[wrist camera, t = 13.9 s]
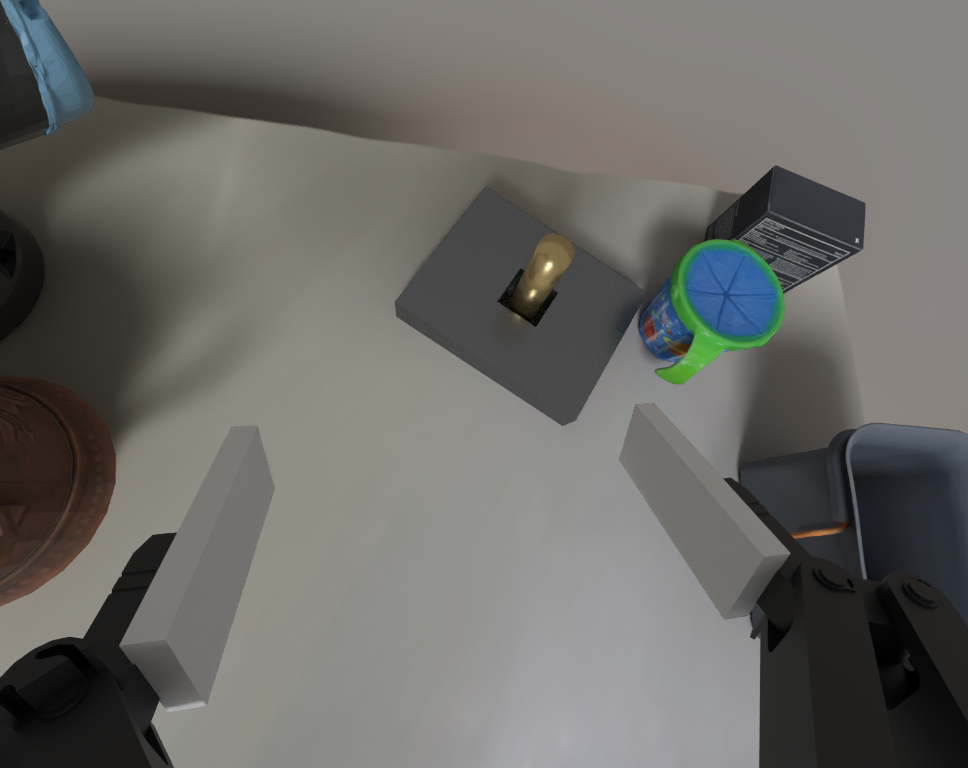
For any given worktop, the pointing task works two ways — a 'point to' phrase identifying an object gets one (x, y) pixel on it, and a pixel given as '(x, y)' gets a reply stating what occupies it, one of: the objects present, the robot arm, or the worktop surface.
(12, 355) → the worktop surface
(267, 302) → the worktop surface
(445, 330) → the plate
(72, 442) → the brown metal pitcher
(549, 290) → the brass pin
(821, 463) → the storage bin
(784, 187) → the small box
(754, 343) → the snack cup
